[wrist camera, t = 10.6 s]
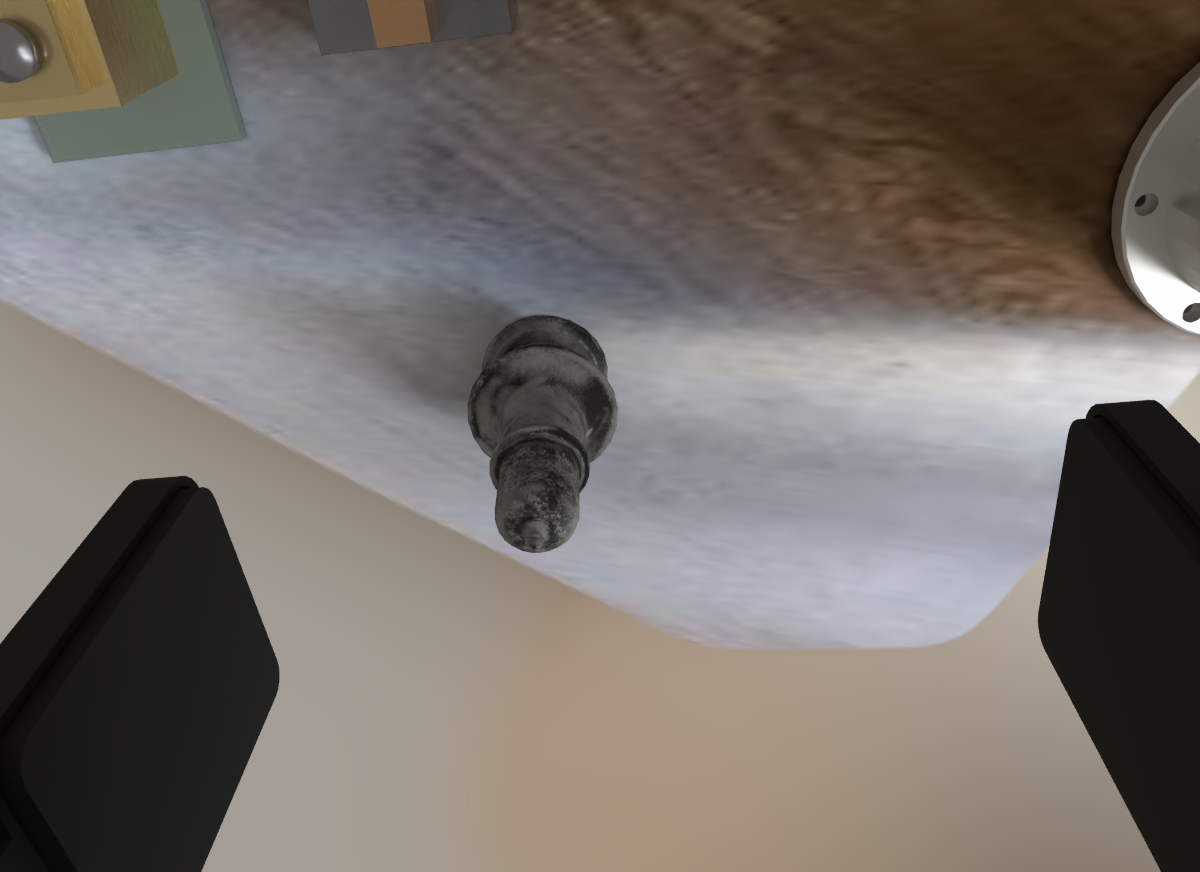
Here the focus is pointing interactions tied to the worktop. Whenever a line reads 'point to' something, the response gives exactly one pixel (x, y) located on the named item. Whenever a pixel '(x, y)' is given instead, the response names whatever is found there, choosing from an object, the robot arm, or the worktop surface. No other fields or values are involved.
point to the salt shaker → (541, 426)
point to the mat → (159, 101)
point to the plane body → (405, 22)
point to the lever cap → (80, 54)
